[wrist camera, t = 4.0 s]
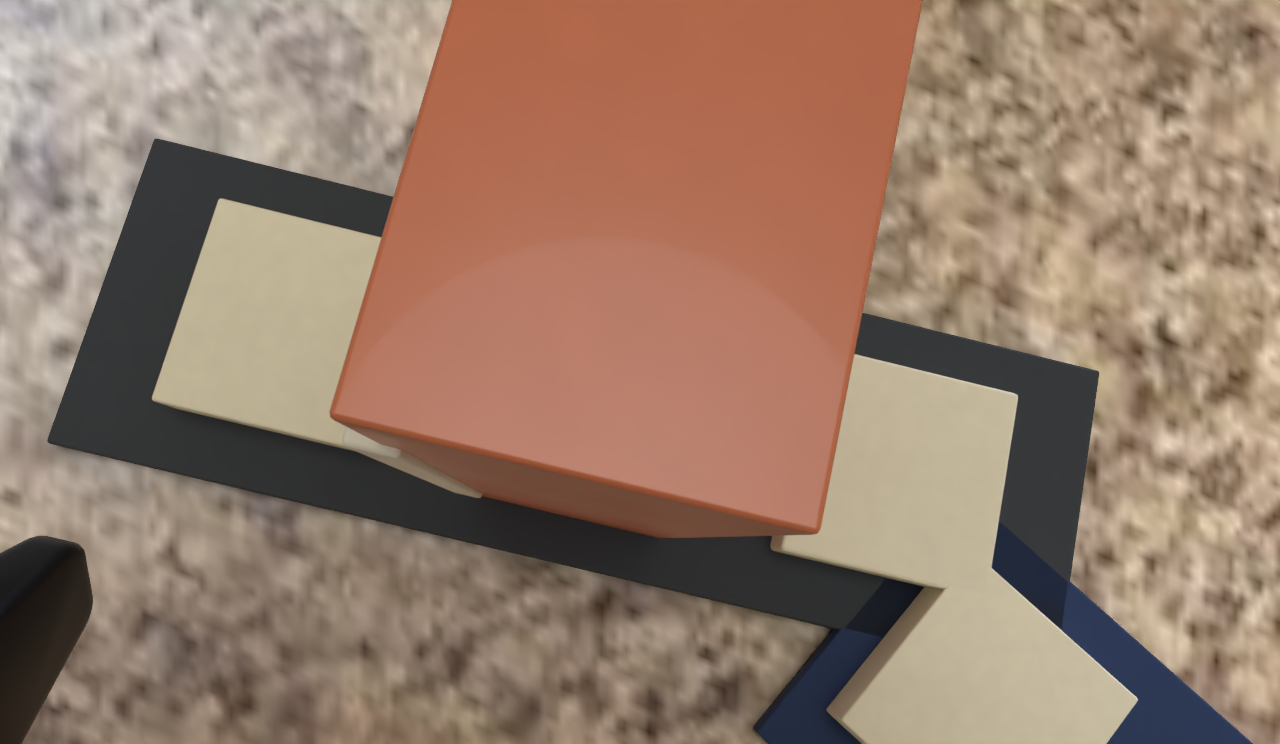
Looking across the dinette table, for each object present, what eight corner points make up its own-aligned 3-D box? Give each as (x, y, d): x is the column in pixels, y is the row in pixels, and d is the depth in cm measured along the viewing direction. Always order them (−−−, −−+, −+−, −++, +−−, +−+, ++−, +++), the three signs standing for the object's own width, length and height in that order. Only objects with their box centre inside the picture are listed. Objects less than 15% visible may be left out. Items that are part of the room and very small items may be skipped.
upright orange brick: (661, 543, 20) (818, 549, 7) (462, 496, 20) (277, 421, 7) (712, 314, 21) (929, -28, 8) (523, 268, 21) (453, -152, 8)
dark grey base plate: (1088, 374, 22) (1131, 361, 20) (1045, 677, 21) (1086, 690, 19) (163, 146, 21) (129, 112, 20) (57, 444, 20) (11, 436, 18)
